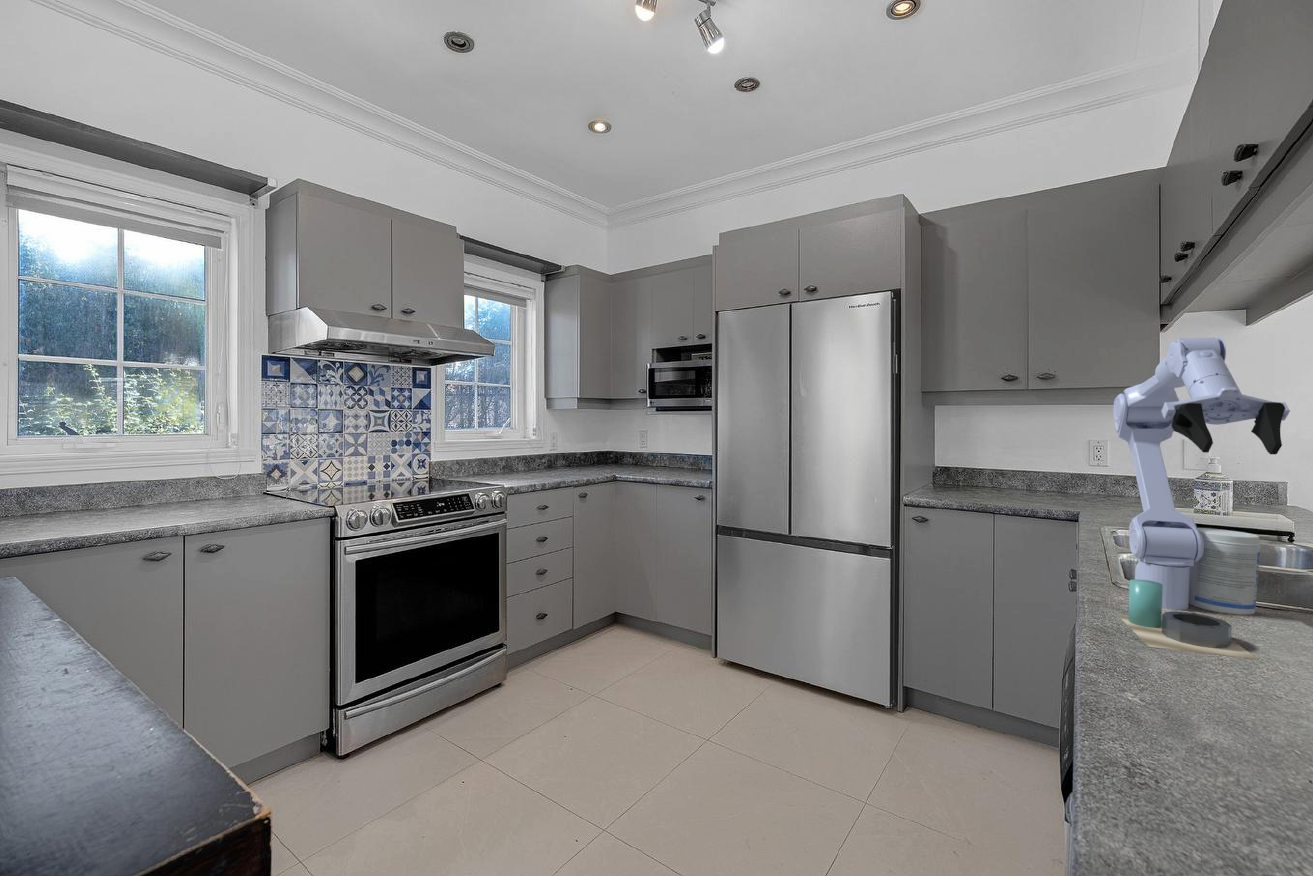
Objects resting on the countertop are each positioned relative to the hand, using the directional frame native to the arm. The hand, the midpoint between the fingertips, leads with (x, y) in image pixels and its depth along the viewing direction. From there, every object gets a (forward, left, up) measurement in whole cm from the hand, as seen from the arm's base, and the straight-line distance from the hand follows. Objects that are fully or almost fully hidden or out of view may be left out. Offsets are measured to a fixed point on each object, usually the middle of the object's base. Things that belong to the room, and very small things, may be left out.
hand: (1241, 448), depth 88 cm
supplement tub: (-30, +9, -32) cm, 45 cm away
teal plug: (-13, -7, -31) cm, 34 cm away
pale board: (-9, -3, -32) cm, 33 cm away
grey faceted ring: (-8, -2, -31) cm, 32 cm away
